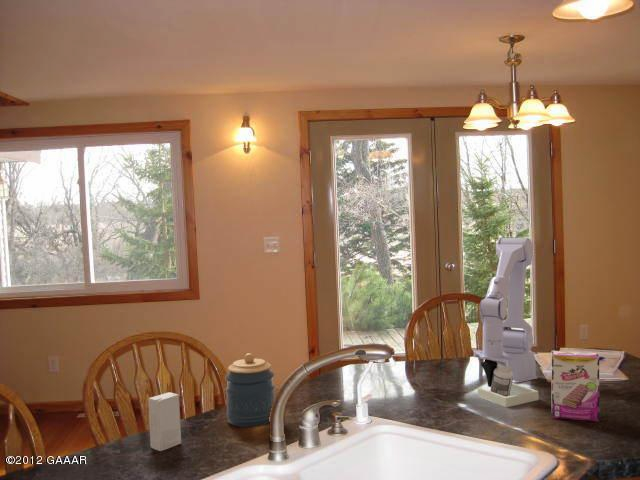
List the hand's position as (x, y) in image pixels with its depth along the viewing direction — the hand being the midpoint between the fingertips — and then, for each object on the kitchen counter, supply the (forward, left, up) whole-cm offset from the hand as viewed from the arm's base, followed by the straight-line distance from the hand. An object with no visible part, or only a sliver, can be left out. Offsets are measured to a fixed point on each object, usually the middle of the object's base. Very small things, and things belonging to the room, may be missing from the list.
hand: (492, 386), depth 175 cm
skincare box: (+91, -10, -2) cm, 92 cm away
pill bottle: (-1, +2, -2) cm, 3 cm away
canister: (+67, -17, -3) cm, 69 cm away
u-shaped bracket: (-1, +5, -2) cm, 5 cm away
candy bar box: (-4, +26, -3) cm, 26 cm away
